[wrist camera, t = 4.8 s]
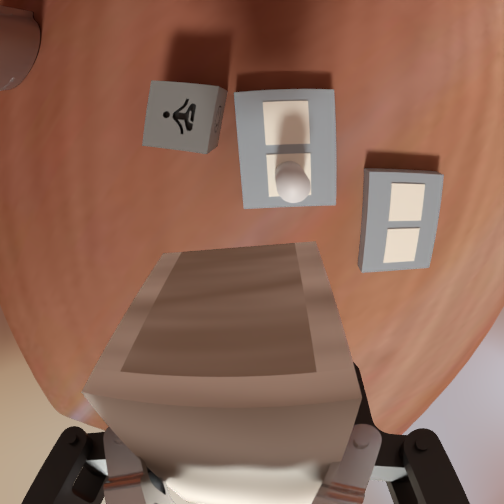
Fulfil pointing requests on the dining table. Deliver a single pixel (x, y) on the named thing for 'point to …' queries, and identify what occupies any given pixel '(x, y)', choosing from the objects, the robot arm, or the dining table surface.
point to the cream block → (232, 375)
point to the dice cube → (184, 116)
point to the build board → (399, 219)
